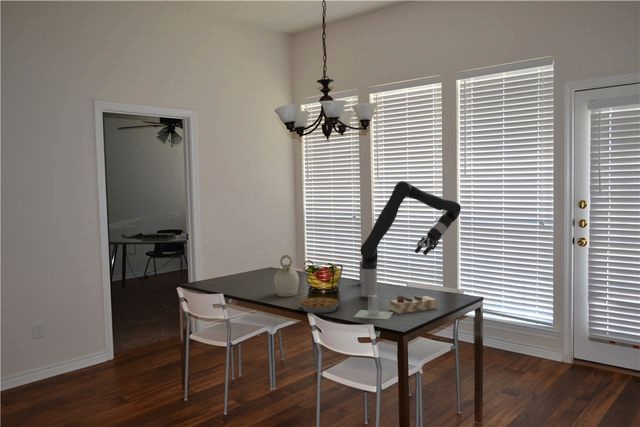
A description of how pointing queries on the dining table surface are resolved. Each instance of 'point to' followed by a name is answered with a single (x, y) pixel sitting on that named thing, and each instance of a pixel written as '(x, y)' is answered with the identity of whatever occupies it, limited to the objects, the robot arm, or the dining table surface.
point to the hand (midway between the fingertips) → (419, 253)
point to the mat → (381, 315)
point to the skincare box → (360, 271)
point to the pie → (319, 305)
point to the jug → (286, 280)
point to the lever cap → (373, 304)
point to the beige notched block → (412, 304)
